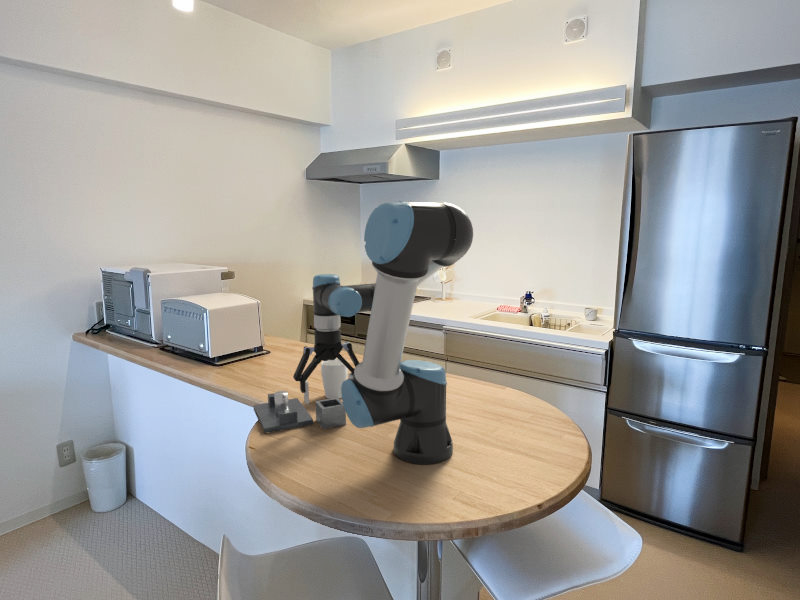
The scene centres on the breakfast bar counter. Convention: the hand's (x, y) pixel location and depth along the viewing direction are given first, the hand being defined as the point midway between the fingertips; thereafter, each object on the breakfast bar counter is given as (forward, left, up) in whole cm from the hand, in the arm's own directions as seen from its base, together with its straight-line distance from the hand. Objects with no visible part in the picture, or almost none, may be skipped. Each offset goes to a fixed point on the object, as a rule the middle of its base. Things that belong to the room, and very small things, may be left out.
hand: (329, 399), depth 142 cm
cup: (+21, -8, -7) cm, 23 cm away
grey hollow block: (0, 0, -7) cm, 7 cm away
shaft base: (+11, +12, -7) cm, 17 cm away
